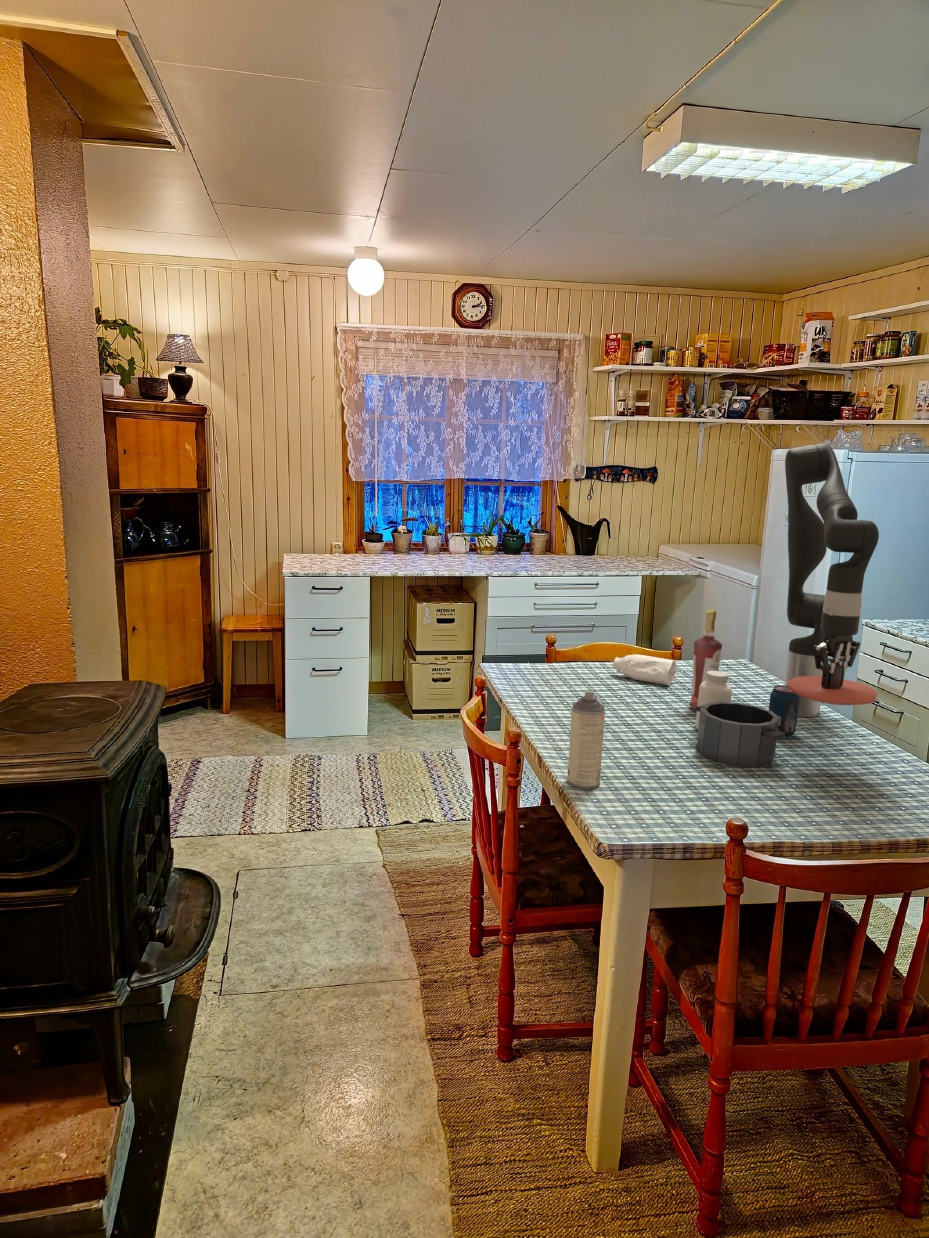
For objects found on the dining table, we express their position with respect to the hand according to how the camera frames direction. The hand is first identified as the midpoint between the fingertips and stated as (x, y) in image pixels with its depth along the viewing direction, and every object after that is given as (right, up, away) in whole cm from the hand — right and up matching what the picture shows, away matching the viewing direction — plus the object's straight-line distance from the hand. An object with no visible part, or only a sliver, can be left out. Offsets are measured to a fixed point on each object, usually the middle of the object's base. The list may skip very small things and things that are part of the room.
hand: (831, 686), depth 180 cm
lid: (0, -2, +1) cm, 2 cm away
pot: (-18, -17, +10) cm, 27 cm away
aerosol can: (-57, -20, -10) cm, 61 cm away
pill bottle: (-19, -13, +27) cm, 35 cm away
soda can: (-2, -14, +25) cm, 29 cm away
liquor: (-16, -10, +43) cm, 47 cm away
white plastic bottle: (-26, -5, +70) cm, 75 cm away
